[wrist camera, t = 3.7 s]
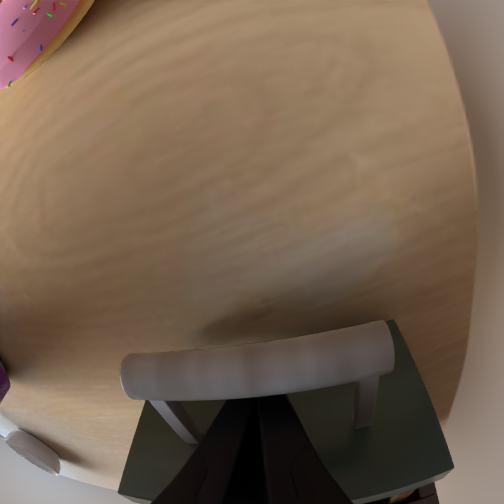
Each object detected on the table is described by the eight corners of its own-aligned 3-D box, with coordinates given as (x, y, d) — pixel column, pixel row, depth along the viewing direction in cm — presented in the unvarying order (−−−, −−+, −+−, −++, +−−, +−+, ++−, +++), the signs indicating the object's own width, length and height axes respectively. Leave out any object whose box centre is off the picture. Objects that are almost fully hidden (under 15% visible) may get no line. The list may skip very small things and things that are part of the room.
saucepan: (64, 465, 33) (58, 480, 30) (-13, 413, 30) (-20, 426, 26) (64, 453, 29) (56, 472, 26) (-25, 391, 25) (-34, 406, 22)
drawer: (122, 279, 12) (30, 430, 5) (397, 229, 10) (518, 389, 3) (233, 457, 20) (225, 539, 13) (372, 439, 18) (388, 522, 11)
